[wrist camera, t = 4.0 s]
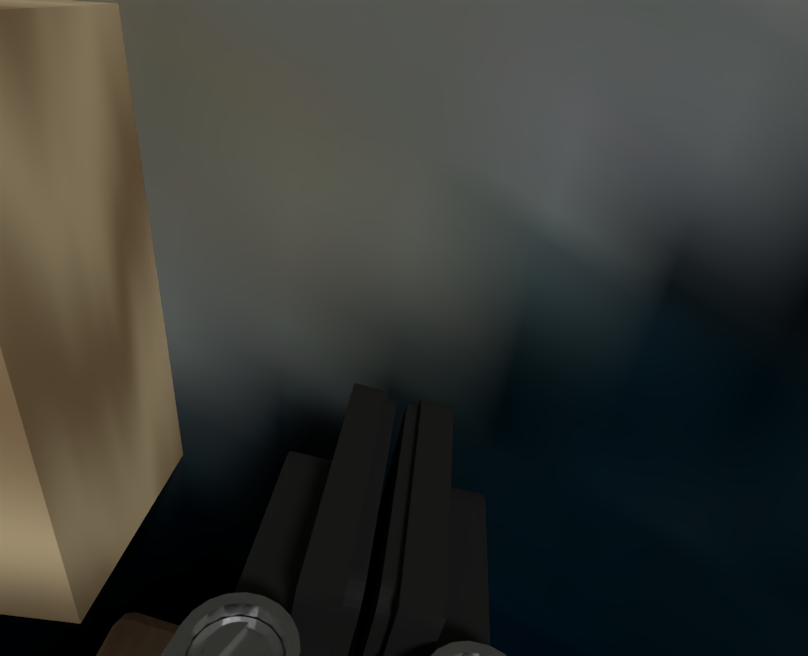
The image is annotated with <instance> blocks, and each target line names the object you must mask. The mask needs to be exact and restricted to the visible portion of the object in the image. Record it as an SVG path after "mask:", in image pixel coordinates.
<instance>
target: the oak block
mask: <svg viewBox="0 0 808 656" xmlns="http://www.w3.org/2000/svg"><path fill="white" fill-rule="evenodd" d="M182 456H183V451H182V444H181V437H180V430H179V423H178V417H177V410H176V403H175V396H174V389H173V382H172V375H171V368H170V361H169V354H168V347H167V340H166V333H165V326H164V319H163V312H162V305H161V298H160V291H159V284H158V277H157V270H156V264H155V257H154V250H153V243H152V236H151V229H150V222H149V215H148V208H147V201H146V194H145V187H144V180H143V173H142V166H141V159H140V152H139V145H138V138H137V131H136V124H135V117H134V110H133V104H132V97H131V90H130V83H129V76H128V69H127V62H126V55H125V48H124V41H123V34H122V27H121V20H120V13H119V6H118V4H116V3H101V2H86V1H72V0H0V614H4V615H12V616H21V617H29V618H37V619H46V620H54V621H62V622H71V623H79V624H81V622H82V620H83V619H84V617H85V615H86V614H87V612H88V610H89V609H90V607H91V605H92V604H93V602H94V601H95V599H96V597H97V596H98V594H99V592H100V591H101V589H102V587H103V586H104V584H105V582H106V581H107V579H108V577H109V576H110V574H111V573H112V571H113V569H114V568H115V566H116V564H117V563H118V561H119V559H120V558H121V556H122V554H123V553H124V551H125V549H126V548H127V546H128V545H129V543H130V541H131V540H132V538H133V536H134V535H135V533H136V531H137V530H138V528H139V526H140V525H141V523H142V521H143V520H144V518H145V517H146V515H147V513H148V512H149V510H150V508H151V507H152V505H153V503H154V502H155V500H156V498H157V497H158V495H159V493H160V492H161V490H162V489H163V487H164V485H165V484H166V482H167V480H168V479H169V477H170V475H171V474H172V472H173V470H174V469H175V467H176V465H177V464H178V462H179V460H180V459H181V457H182Z"/></svg>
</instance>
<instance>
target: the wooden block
mask: <svg viewBox="0 0 808 656" xmlns="http://www.w3.org/2000/svg"><path fill="white" fill-rule="evenodd" d="M178 628H179V625H176V624H173V623H169V622H166V621H163V620H160V619H156V618H153V617H150V616H147V615H143V614H140V613H125V614H124V616H123V617H122V618H121V619H120V620H118V621H117V622H116V623H115V624H114V625H113V626H112V628H111V630H110V632H109V633H108V635H107V637H106V639H105V641H104V642H103V644H102V646H101V648H100V650H99V651H98V653H97V655H96V656H161V654H162V653H163V651H164V650H165V648H166V646H167V645H168V643H169V642H170V640H171V639H172V637H173V635H174V634H175V632H176V631H177V629H178Z"/></svg>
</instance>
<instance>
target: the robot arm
mask: <svg viewBox="0 0 808 656" xmlns="http://www.w3.org/2000/svg"><path fill="white" fill-rule="evenodd" d="M385 394H386V390H382V389H377V388H373V387H368V386H364V385H360V384H354V387H353V390H352V393H351V397H350V401H349V404H348V408H347V411H346V415H345V418H344V422H343V425H342V429H341V432H340V436H339V439H338V443H337V446H336V450H335V453H334V457H333V460H328V459H324V458H319V457H315V456H310V455H306V454H301V453H297V452H293V451H290V452H289V453H288V455H287V458H286V460H285V462H284V465H283V468H282V470H281V473H280V475H279V478H278V481H277V483H276V486H275V488H274V491H273V494H272V496H271V499H270V502H269V504H268V507H267V509H266V512H265V515H264V517H263V520H262V522H261V525H260V528H259V530H258V533H257V536H256V538H255V541H254V543H253V546H252V549H251V551H250V554H249V556H248V559H247V562H246V564H245V567H244V569H243V572H242V575H241V577H240V580H239V583H238V585H237V588H236V590H235V593H227V594H224V595H221V596H218V597H215V598H212V599H209V600H208V601H206V602H205V603H203V604H202V605H200V606H199V607H197V608H196V609H194V610H193V611H192V612H191V613H190V614H189V615H188V617H187V618H186V619H185V620H184V621H183V622H182V624H181V625H180V626H179V628H178V629H177V631H176V632H175V634H174V635H173V637H172V639H171V640H170V642H169V643H168V645H167V646H166V648H165V650H164V651H163V653H162V654H161V656H348V653H349V649H350V646H351V642H352V638H353V635H354V631H355V627H356V624H357V627H356V633H355V639H354V644H353V650H352V656H506V655H505V654H503V653H502V652H500V651H498V650H496V649H494V648H492V647H490V628H489V598H488V568H487V537H486V507H485V498H484V496H483V494H480V493H475V492H471V491H466V490H462V489H457V488H453V487H451V466H452V436H453V406H452V405H448V404H443V403H439V402H434V401H430V400H426V399H421V400H420V402H419V405H418V407H417V406H413V405H408V404H407V405H406V408H405V411H404V415H403V419H402V423H401V426H400V430H399V434H398V438H397V442H396V445H395V449H394V453H393V457H392V460H391V464H390V468H389V472H388V476H387V479H386V483H385V487H384V491H383V495H382V498H381V492H382V487H383V481H384V475H385V469H386V463H387V457H388V451H389V445H390V439H391V434H392V428H393V422H394V416H395V410H396V404H397V402H395V401H391V400H386V399H385ZM380 498H381V502H380ZM379 504H380V506H379ZM357 620H358V621H357Z"/></svg>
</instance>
